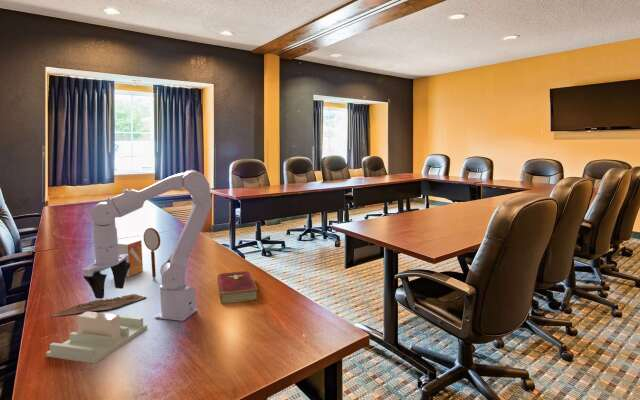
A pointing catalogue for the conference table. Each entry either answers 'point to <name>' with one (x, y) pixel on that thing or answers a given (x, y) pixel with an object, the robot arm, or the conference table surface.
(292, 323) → the conference table surface
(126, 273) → the robot arm
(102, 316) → the beige rectangular block
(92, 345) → the rack
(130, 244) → the small box
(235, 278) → the hardcover book
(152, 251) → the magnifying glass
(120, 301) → the wooden fragment
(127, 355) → the conference table surface
